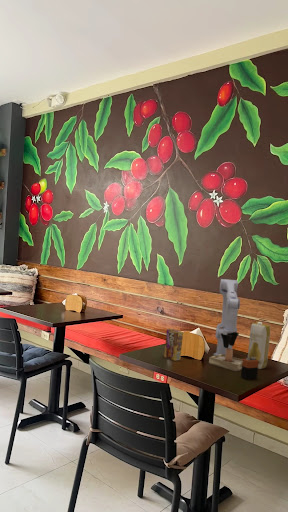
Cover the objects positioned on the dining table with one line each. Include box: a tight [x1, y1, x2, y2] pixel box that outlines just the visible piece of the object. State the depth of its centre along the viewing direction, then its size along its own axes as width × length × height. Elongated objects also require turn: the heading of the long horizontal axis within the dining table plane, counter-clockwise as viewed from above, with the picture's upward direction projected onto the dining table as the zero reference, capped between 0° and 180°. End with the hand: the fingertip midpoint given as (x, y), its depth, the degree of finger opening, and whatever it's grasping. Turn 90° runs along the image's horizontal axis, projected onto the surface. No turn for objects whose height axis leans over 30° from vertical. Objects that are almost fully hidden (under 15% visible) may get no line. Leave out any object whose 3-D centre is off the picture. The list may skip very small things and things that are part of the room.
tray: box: [208, 354, 244, 372], centre depth 221 cm, size 13×16×4 cm
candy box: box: [164, 328, 184, 362], centre depth 225 cm, size 9×4×15 cm, turn 39°
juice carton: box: [247, 321, 271, 370], centre depth 225 cm, size 9×8×24 cm
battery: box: [240, 357, 259, 381], centre depth 202 cm, size 4×7×10 cm, turn 119°
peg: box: [225, 348, 234, 363], centre depth 221 cm, size 4×4×8 cm
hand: (228, 346), depth 222 cm, fingers open, 7 cm apart
